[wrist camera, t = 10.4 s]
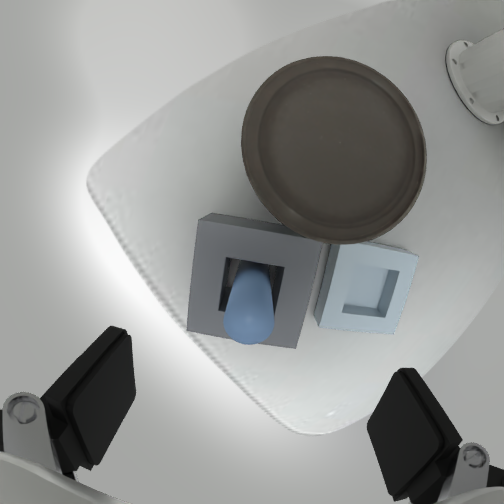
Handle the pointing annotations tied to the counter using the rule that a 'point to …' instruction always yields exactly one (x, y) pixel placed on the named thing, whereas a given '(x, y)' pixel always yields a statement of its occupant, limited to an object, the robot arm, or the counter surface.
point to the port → (256, 250)
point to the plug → (250, 304)
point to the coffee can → (333, 150)
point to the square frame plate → (365, 287)
